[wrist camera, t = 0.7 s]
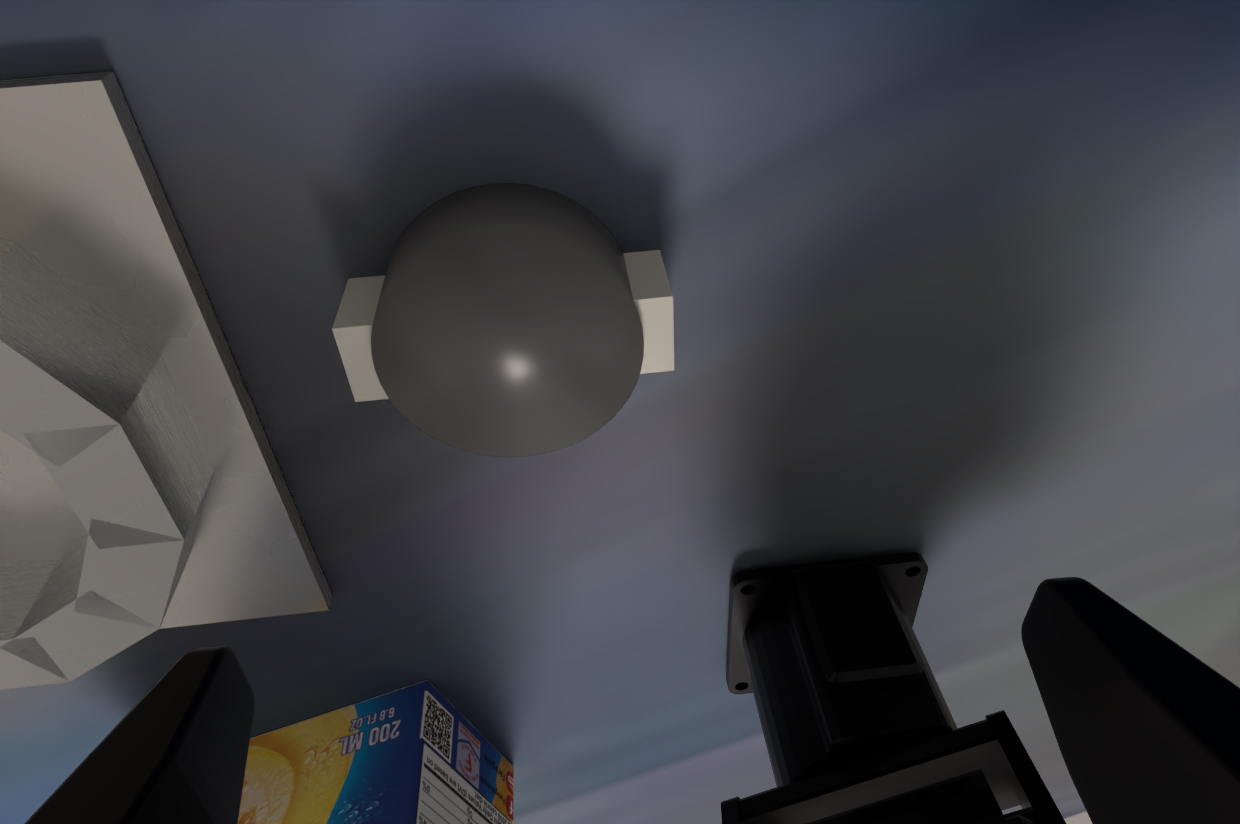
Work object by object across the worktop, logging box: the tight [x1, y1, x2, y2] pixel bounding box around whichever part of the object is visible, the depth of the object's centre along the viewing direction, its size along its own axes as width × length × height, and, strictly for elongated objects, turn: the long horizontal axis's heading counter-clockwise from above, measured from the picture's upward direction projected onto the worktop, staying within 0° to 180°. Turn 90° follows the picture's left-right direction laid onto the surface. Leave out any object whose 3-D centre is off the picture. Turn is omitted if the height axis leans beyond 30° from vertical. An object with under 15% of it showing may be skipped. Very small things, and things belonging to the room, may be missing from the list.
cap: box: [332, 183, 674, 457], centre depth 19 cm, size 6×7×3 cm
